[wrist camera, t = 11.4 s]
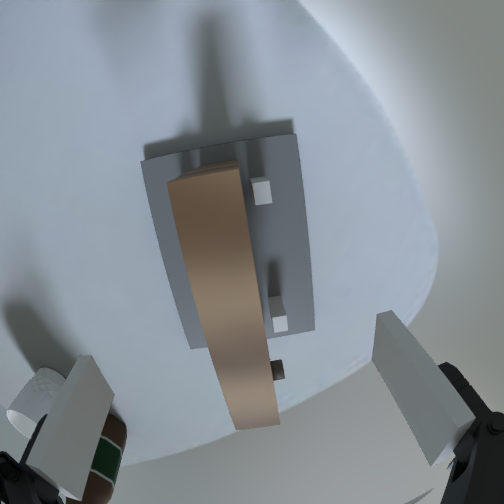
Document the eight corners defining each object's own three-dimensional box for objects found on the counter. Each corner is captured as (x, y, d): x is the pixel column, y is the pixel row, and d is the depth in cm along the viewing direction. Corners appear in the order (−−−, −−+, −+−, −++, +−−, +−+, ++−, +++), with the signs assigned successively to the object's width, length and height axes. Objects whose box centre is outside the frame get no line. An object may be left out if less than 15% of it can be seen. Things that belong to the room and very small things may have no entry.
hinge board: (144, 160, 23) (125, 163, 19) (293, 134, 23) (306, 131, 19) (191, 342, 30) (186, 371, 25) (312, 323, 30) (323, 350, 25)
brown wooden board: (200, 166, 23) (166, 182, 11) (246, 158, 23) (258, 165, 11) (234, 331, 28) (236, 430, 17) (272, 325, 28) (292, 422, 17)
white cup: (71, 372, 31) (43, 424, 22) (82, 406, 34) (62, 455, 24) (29, 357, 30) (-2, 401, 21) (42, 392, 33) (18, 435, 23)
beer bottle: (136, 426, 35) (108, 562, 13) (120, 442, 37) (93, 558, 14) (91, 401, 33) (43, 536, 11) (80, 420, 35) (39, 535, 12)
